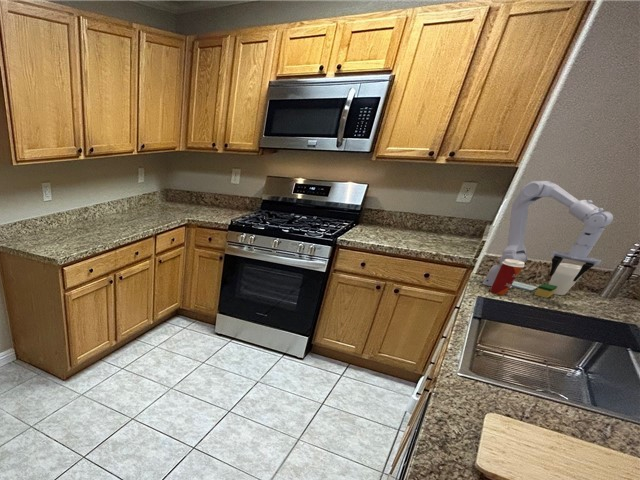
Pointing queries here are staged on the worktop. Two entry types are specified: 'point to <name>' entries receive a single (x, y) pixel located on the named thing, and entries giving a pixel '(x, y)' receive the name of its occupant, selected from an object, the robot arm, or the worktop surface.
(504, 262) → the paper cup
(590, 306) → the worktop surface
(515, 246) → the robot arm
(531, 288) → the cloth
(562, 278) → the cup
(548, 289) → the scrubber
